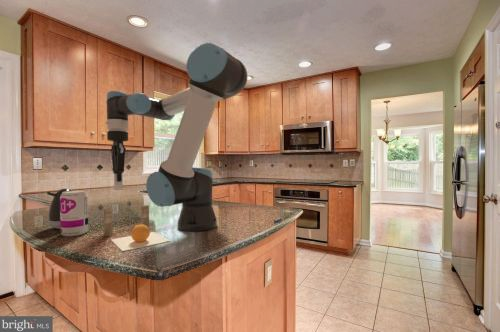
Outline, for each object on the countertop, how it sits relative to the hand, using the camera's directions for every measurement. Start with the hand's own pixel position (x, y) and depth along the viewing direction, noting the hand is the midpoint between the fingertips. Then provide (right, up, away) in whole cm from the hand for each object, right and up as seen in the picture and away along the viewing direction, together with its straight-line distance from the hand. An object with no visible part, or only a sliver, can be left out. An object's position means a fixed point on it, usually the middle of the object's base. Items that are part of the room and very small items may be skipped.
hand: (118, 189), depth 102 cm
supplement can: (-9, -15, -12) cm, 21 cm away
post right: (+13, -15, -6) cm, 20 cm away
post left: (+4, -15, -14) cm, 20 cm away
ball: (+18, -12, -21) cm, 30 cm away
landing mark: (+18, -15, -20) cm, 31 cm away
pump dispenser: (-19, -15, -3) cm, 25 cm away
